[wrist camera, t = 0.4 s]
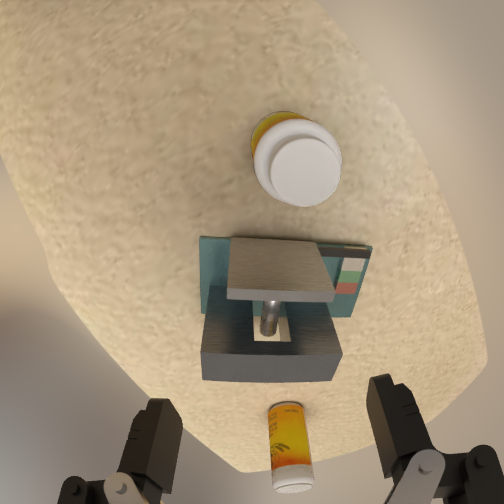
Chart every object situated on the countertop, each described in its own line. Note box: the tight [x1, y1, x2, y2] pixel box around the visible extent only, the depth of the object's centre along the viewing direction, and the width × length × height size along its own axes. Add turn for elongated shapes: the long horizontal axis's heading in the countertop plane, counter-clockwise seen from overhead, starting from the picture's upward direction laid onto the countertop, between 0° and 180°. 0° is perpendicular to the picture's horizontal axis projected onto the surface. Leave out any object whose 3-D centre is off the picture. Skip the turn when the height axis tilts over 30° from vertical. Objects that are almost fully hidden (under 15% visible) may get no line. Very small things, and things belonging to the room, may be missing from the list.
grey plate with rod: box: [227, 237, 371, 337], centre depth 27 cm, size 8×14×8 cm, turn 86°
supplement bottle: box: [251, 111, 342, 207], centre depth 20 cm, size 6×6×10 cm
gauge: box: [199, 236, 373, 383], centre depth 28 cm, size 10×18×10 cm, turn 86°
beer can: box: [268, 402, 314, 493], centre depth 39 cm, size 6×6×15 cm
